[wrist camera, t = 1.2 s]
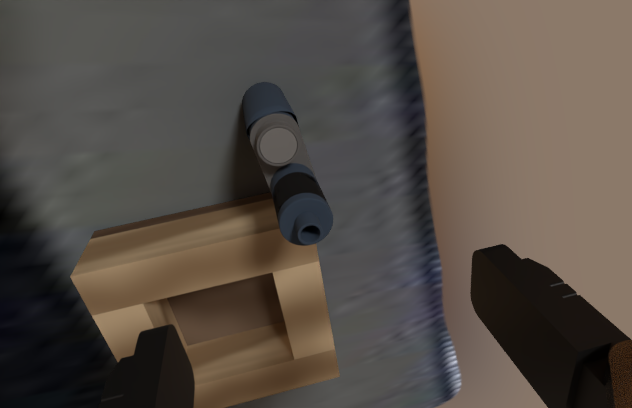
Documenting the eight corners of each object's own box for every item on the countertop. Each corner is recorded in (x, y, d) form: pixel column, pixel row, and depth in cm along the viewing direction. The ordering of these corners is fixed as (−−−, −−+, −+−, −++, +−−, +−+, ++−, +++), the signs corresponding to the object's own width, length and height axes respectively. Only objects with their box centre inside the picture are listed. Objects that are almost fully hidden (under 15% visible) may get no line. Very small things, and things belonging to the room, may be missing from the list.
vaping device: (265, 162, 28) (290, 268, 17) (235, 87, 25) (243, 158, 15) (302, 149, 28) (347, 247, 17) (276, 73, 25) (311, 134, 15)
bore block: (94, 231, 28) (70, 276, 23) (298, 186, 29) (311, 221, 25) (162, 371, 34) (153, 426, 30) (325, 329, 36) (339, 376, 31)
